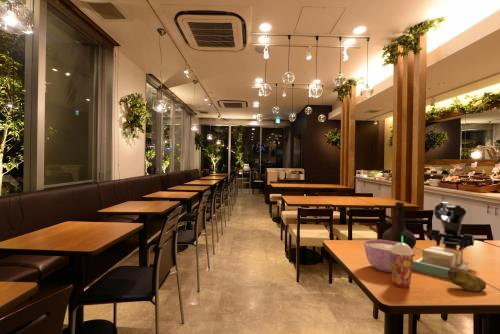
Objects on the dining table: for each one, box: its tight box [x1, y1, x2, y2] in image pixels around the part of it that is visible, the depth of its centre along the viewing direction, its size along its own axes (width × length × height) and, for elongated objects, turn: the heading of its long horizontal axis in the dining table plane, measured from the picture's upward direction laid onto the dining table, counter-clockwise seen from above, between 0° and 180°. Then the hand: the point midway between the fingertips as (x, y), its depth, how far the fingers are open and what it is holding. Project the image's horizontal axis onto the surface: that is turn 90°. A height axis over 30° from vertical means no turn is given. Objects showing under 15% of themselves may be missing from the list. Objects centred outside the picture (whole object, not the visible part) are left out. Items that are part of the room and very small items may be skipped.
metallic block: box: [421, 245, 464, 269], centre depth 149 cm, size 16×12×8 cm
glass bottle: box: [381, 201, 417, 250], centre depth 178 cm, size 18×18×28 cm
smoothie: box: [391, 236, 415, 289], centre depth 125 cm, size 8×8×20 cm
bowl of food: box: [363, 239, 399, 273], centre depth 144 cm, size 20×20×12 cm
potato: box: [447, 267, 487, 292], centre depth 122 cm, size 8×13×8 cm, turn 57°
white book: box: [412, 257, 469, 280], centre depth 146 cm, size 23×18×4 cm
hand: (448, 250), depth 155 cm, fingers open, 9 cm apart
